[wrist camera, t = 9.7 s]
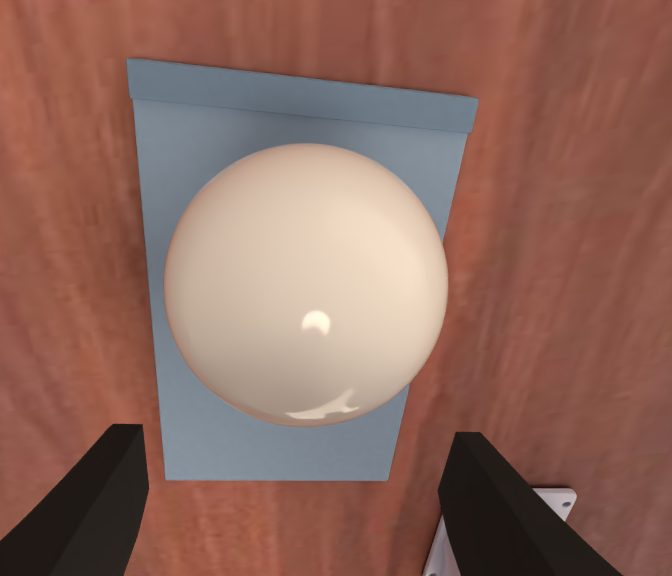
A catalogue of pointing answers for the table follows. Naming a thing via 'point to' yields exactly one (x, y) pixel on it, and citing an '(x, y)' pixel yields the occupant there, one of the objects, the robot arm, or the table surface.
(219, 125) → the blue lipped board
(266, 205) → the lightbulb
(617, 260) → the table surface
